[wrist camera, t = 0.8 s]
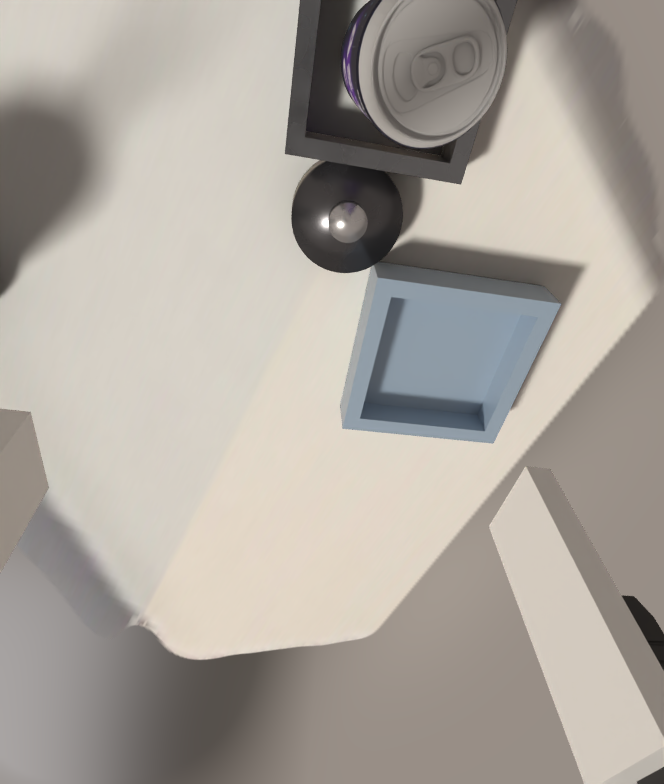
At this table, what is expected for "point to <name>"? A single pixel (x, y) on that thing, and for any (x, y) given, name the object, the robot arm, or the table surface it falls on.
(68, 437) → the table surface
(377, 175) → the grey flat rectangular frame
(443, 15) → the beverage can
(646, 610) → the robot arm
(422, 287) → the tray
